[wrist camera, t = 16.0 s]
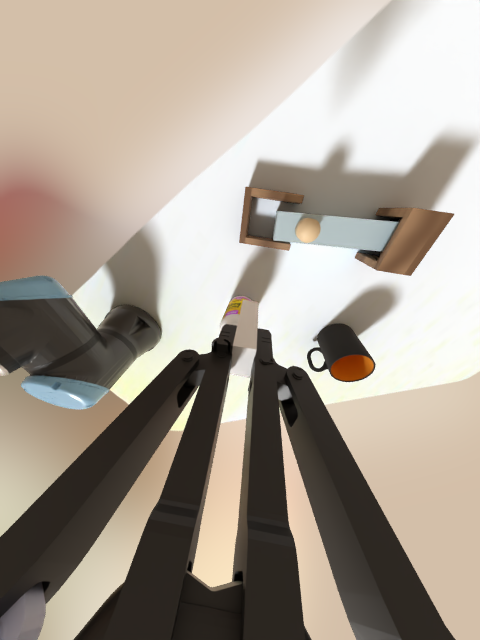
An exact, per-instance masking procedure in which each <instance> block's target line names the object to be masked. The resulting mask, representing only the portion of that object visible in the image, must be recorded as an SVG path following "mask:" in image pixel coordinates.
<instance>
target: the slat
mask: <svg viewBox="0 0 480 640" xmlns="http://www.w3.org/2000/svg"><path fill="white" fill-rule="evenodd" d="M399 223H400V222H393V221H382V220H372V219H361V218H350V217H339V216H328V215H317V214H306V213H295V212H284V211H276V217H275V223H274V230H273V240H276V241H285V242H295V243H304V244H314V245H324V246H333V247H343V248H353V249H362V250H372V251H382V252H383V251H384V249H385V248H386V246H387V244H388V242H389V241H390V239H391V237H392V235H393V234H394V232H395V230H396V228H397V226H398V225H399Z"/></svg>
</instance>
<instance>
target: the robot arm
mask: <svg viewBox="0 0 480 640" xmlns="http://www.w3.org/2000/svg"><path fill="white" fill-rule="evenodd" d="M258 304H259V302H256V301H249V300H243V302H242V306H241V311H240V315H239V320H238V324H237V326H236V325H230V324H225V325H224V326H223V327H222V329H221V332H220V335H219V338H216V339H215V340H213V342H212V352H210V353H208V354H201V355H199V354H198V353H197V352H196V351H194V350H184V351H182V352H180V353H179V354H178V355H177V356H176V357H175V358H174V359H173V360H172V361H171V362H170V363H169V364H168V365H167V366H166V367H165V368H164V369H163V370H162V372H161V373H160V374H159V375H158V376H157V377H156V378H155V379H154V380H153V381H152V382H151V383H150V384H149V385H148V386H147V387H146V388H145V389H144V390H143V391H142V392H141V393H140V394H139V395H138V396H137V397H136V398H135V399H134V400H133V401H132V402H131V403H130V404H129V405H128V407H127V408H126V409H125V410H124V411H123V412H122V413H121V414H120V415H119V416H118V417H117V418H116V419H115V420H114V421H113V422H112V423H111V424H110V425H109V426H108V427H107V428H106V429H105V430H104V431H103V432H102V434H100V435H99V436H98V437H97V439H96V440H95V441H94V442H93V443H92V444H91V445H90V446H89V447H88V448H87V449H86V450H85V451H84V452H83V453H82V454H81V455H80V456H79V457H78V458H77V459H76V460H75V461H74V462H73V463H72V464H71V465H70V466H69V467H68V468H67V469H66V470H65V472H63V473H62V475H61V476H60V477H59V478H58V479H57V480H56V481H55V482H54V483H53V484H52V485H51V486H50V487H49V488H48V489H47V490H46V491H45V492H44V493H43V494H42V495H41V496H40V497H39V498H38V499H37V500H36V501H35V502H34V503H33V504H32V505H31V506H30V507H29V508H28V510H27V511H26V512H25V513H24V514H23V515H22V516H21V517H20V518H19V519H18V520H17V521H16V522H15V523H14V524H13V525H12V526H11V527H10V528H9V529H8V530H7V531H6V532H5V533H4V534H3V535H2V536H1V537H0V640H37V639H38V637H39V634H40V632H41V629H42V626H43V622H44V618H45V608H46V603H47V602H48V601H49V600H50V599H51V598H52V597H53V596H54V595H55V593H56V592H57V591H58V590H59V589H60V588H61V586H62V585H63V584H64V583H65V581H66V580H67V579H68V578H69V576H70V575H71V574H72V573H73V571H74V570H75V569H76V568H77V566H78V565H79V564H80V562H81V561H82V559H83V558H84V557H85V555H86V554H87V553H88V551H89V550H90V548H91V547H92V545H93V544H94V543H95V541H96V540H97V538H98V537H99V535H100V534H101V532H102V531H103V529H104V528H105V526H106V525H107V523H108V522H109V520H110V519H111V517H112V515H113V514H114V513H115V511H116V510H117V508H118V506H119V505H120V504H121V502H122V501H123V499H124V498H125V496H126V495H127V493H128V492H129V490H130V489H131V487H132V486H133V484H134V482H135V481H136V480H137V478H138V476H139V475H140V474H141V472H142V471H143V469H144V468H145V466H146V464H147V463H148V461H149V460H150V458H151V457H152V455H153V454H154V453H155V451H156V449H157V448H158V447H159V445H160V444H161V442H162V441H163V439H164V438H165V436H166V435H167V433H168V432H169V430H170V429H171V427H172V426H173V424H174V423H175V421H176V420H177V418H178V417H179V415H180V414H181V412H182V411H183V409H184V408H185V406H186V405H187V403H188V402H189V400H190V399H191V397H192V396H193V394H194V393H195V391H196V390H197V388H198V386H199V389H198V392H197V395H196V398H195V401H194V403H193V406H192V409H191V412H190V415H189V418H188V420H187V423H186V426H185V429H184V432H183V435H182V437H181V440H180V443H179V446H178V449H177V452H176V454H175V457H174V460H173V463H172V466H171V468H170V471H169V474H168V477H167V480H166V483H165V485H164V488H163V491H162V494H161V496H160V499H159V501H158V503H157V504H156V506H155V507H154V509H153V510H152V512H151V515H150V517H149V519H148V521H147V524H146V526H145V529H144V531H143V534H142V536H141V539H140V542H139V545H138V547H137V550H136V553H135V555H134V558H133V561H132V563H131V566H130V569H129V572H128V575H127V577H126V580H125V582H124V583H123V584H122V585H120V586H119V587H118V588H117V589H116V590H115V592H113V593H112V594H111V595H110V597H109V598H108V599H107V600H106V601H105V602H104V603H103V605H102V606H101V607H100V608H99V610H98V611H97V612H96V613H95V614H94V616H93V617H92V618H91V619H90V621H89V622H88V623H87V624H86V625H85V627H84V628H83V629H82V630H81V631H80V633H79V634H78V635H77V636H76V637H75V638H74V640H311V638H310V636H309V634H308V632H307V630H306V629H305V626H304V622H303V612H302V603H301V592H300V582H299V571H298V561H297V554H296V547H295V542H294V538H293V535H292V533H291V530H290V527H289V522H288V513H287V500H286V489H285V488H286V487H285V475H284V463H283V451H282V438H281V426H280V413H279V407H280V411H281V414H282V417H283V420H284V423H285V426H286V429H287V432H288V435H289V438H290V441H291V445H292V448H293V451H294V454H295V457H296V460H297V464H298V467H299V470H300V473H301V476H302V479H303V482H304V485H305V488H306V492H307V495H308V498H309V501H310V504H311V507H312V510H313V513H314V517H315V520H316V523H317V526H318V529H319V532H320V535H321V538H322V542H323V545H324V548H325V551H326V554H327V557H328V560H329V563H330V566H331V570H332V573H333V576H334V579H335V582H336V585H337V588H338V591H339V594H340V597H341V600H342V603H343V606H344V608H345V612H346V614H347V617H348V620H349V622H350V625H351V627H352V630H353V632H354V635H355V637H356V640H455V638H454V637H453V636H452V634H451V633H450V631H449V630H448V629H447V628H446V626H445V624H444V622H443V621H442V619H441V617H440V615H439V613H438V611H437V610H436V608H435V606H434V604H433V602H432V601H431V599H430V597H429V595H428V593H427V591H426V590H425V588H424V586H423V584H422V582H421V580H420V579H419V577H418V575H417V573H416V571H415V570H414V568H413V566H412V564H411V562H410V561H409V558H408V557H407V555H406V553H405V551H404V549H403V548H402V546H401V544H400V542H399V540H398V538H397V537H396V535H395V533H394V531H393V529H392V528H391V526H390V524H389V522H388V520H387V518H386V517H385V515H384V513H383V511H382V509H381V507H380V506H379V504H378V502H377V500H376V499H375V496H374V495H373V493H372V491H371V489H370V487H369V486H368V484H367V482H366V480H365V478H364V477H363V474H362V473H361V471H360V469H359V467H358V465H357V464H356V462H355V460H354V458H353V456H352V454H351V453H350V451H349V449H348V447H347V445H346V443H345V442H344V440H343V438H342V436H341V434H340V432H339V431H338V429H337V427H336V425H335V423H334V422H333V420H332V418H331V416H330V414H329V413H328V411H327V409H326V407H325V405H324V403H323V401H322V400H321V398H320V396H319V394H318V392H317V390H316V389H315V387H314V385H313V383H312V381H311V380H310V378H309V376H308V374H307V373H306V372H305V371H304V370H303V369H302V368H299V367H296V366H292V367H289V368H288V369H286V368H284V367H282V366H280V365H278V364H277V363H276V362H275V360H274V358H273V353H272V340H271V333H270V332H269V330H264V329H258V328H257V327H258ZM160 339H161V331H160V328H159V326H158V324H157V323H156V321H155V320H154V319H153V318H152V317H151V316H150V315H149V314H148V313H146V312H145V311H143V310H141V309H139V308H137V307H134V306H130V305H120V306H117V307H116V308H114V309H113V310H111V311H110V312H108V314H107V315H106V317H105V319H104V320H103V321H102V323H101V324H100V325H99V327H98V328H97V329H96V328H95V327H94V325H93V324H92V323H91V321H90V320H89V319H88V318H87V316H86V315H85V314H84V313H83V311H82V310H81V309H80V307H79V306H78V305H77V304H76V302H75V301H74V300H73V298H72V295H69V294H68V292H67V291H66V290H65V289H64V288H63V287H62V286H61V285H60V284H59V282H58V281H57V280H55V279H53V278H51V277H48V276H34V277H28V278H22V279H16V280H10V281H4V282H0V375H7V374H9V373H11V372H13V371H15V370H17V369H18V368H20V367H22V368H24V369H25V370H26V371H27V372H28V373H29V374H30V376H27V377H26V378H25V379H24V381H23V382H22V383H21V386H22V388H24V390H25V391H26V392H27V393H29V394H31V395H32V396H34V397H36V398H38V399H41V400H43V401H45V402H48V403H51V404H54V405H57V406H61V407H65V408H70V409H86V408H90V407H92V406H93V405H95V404H96V403H97V402H98V401H99V400H100V399H101V398H102V397H103V396H104V395H105V394H106V393H108V392H109V389H110V388H111V387H112V386H113V385H114V384H115V383H116V381H117V380H118V379H119V378H120V377H121V376H122V374H123V373H124V372H125V371H126V370H127V369H128V368H129V366H130V365H131V364H132V363H133V362H134V361H135V360H136V358H138V357H139V356H141V355H142V354H144V353H145V352H147V351H150V350H151V349H153V348H154V347H155V346H156V345H157V344H158V342H159V341H160ZM229 374H232V375H238V376H244V377H250V376H251V378H250V383H249V387H248V391H249V394H248V406H247V419H246V431H245V444H244V458H243V469H242V482H241V494H240V507H239V520H238V531H237V537H236V544H235V554H234V565H233V578H232V582H231V583H227V584H224V585H220V586H217V587H213V588H212V587H209V586H207V585H206V584H205V583H204V582H202V581H201V580H200V579H198V578H197V577H196V576H194V575H193V574H192V569H193V563H194V559H195V553H196V548H197V543H198V537H199V531H200V525H201V519H202V514H203V509H204V504H205V499H206V493H207V489H208V484H209V478H210V473H211V468H212V463H213V458H214V452H215V448H216V443H217V437H218V432H219V427H220V422H221V417H222V412H223V407H224V402H225V397H226V391H227V386H228V381H229Z"/></svg>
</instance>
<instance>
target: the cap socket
mask: <svg viewBox="0 0 480 640" xmlns="http://www.w3.org/2000/svg"><path fill="white" fill-rule="evenodd" d="M376 215H377V216H384V217H390V218H397V219H399V221H398V222H400V223H399V225H398V226H397V228H396V230H395V232H394V234H393V235H392V237H391V239H390V241H389V242H388V244H387V246H386V248H385V249H384V251H383V252H382V251H381V253H380V255H379V256H377V255H371V254H364V253H358V252H357V254H356V256H355V258H356V259H358V260H359V261H361V262H363V263H365V264H367V265H368V266H370V267H372V268H374V269H376V270H378V271H384V272H390V273H396V274H403V275H409V276H411V275H412V273H413V272H414V270H415V269H416V268H417V266H418V265H419V263H420V262H421V261H422V259H423V258H424V256H425V255H426V253H427V252H428V251H429V249H430V248H431V246H432V245H433V244H434V242H435V241H436V239H437V238H438V237H439V235H440V234H441V232H442V231H443V230H444V228H445V227H446V225H447V224H448V223H449V221H450V220H451V218H452V217H453V216H454V214H452V213H445V212H438V211H432V210H425V209H418V208H379V209H378V211H377V213H376Z"/></svg>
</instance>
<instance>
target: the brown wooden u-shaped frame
mask: <svg viewBox="0 0 480 640" xmlns="http://www.w3.org/2000/svg"><path fill="white" fill-rule="evenodd" d="M253 197H256V198H263V199H270V200H276V201H283V202H290V203H297V204H300V203H302V201H303V198H304V195H299V194H292V193H286V192H279V191H272V190H265V189H258V188H252V187H246V188H245V196H244V205H243V214H242V223H241V232H240V241H239V243H245V244H251V245H257V246H263V247H269V248H276V249H282V250H288V251H289V249H290V245H291V244H290V243H289V242H285V241H276V240H273V239H270V238H264V237H257V236H251V235H248V227H249V220H250V212H251V205H252V198H253Z"/></svg>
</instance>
